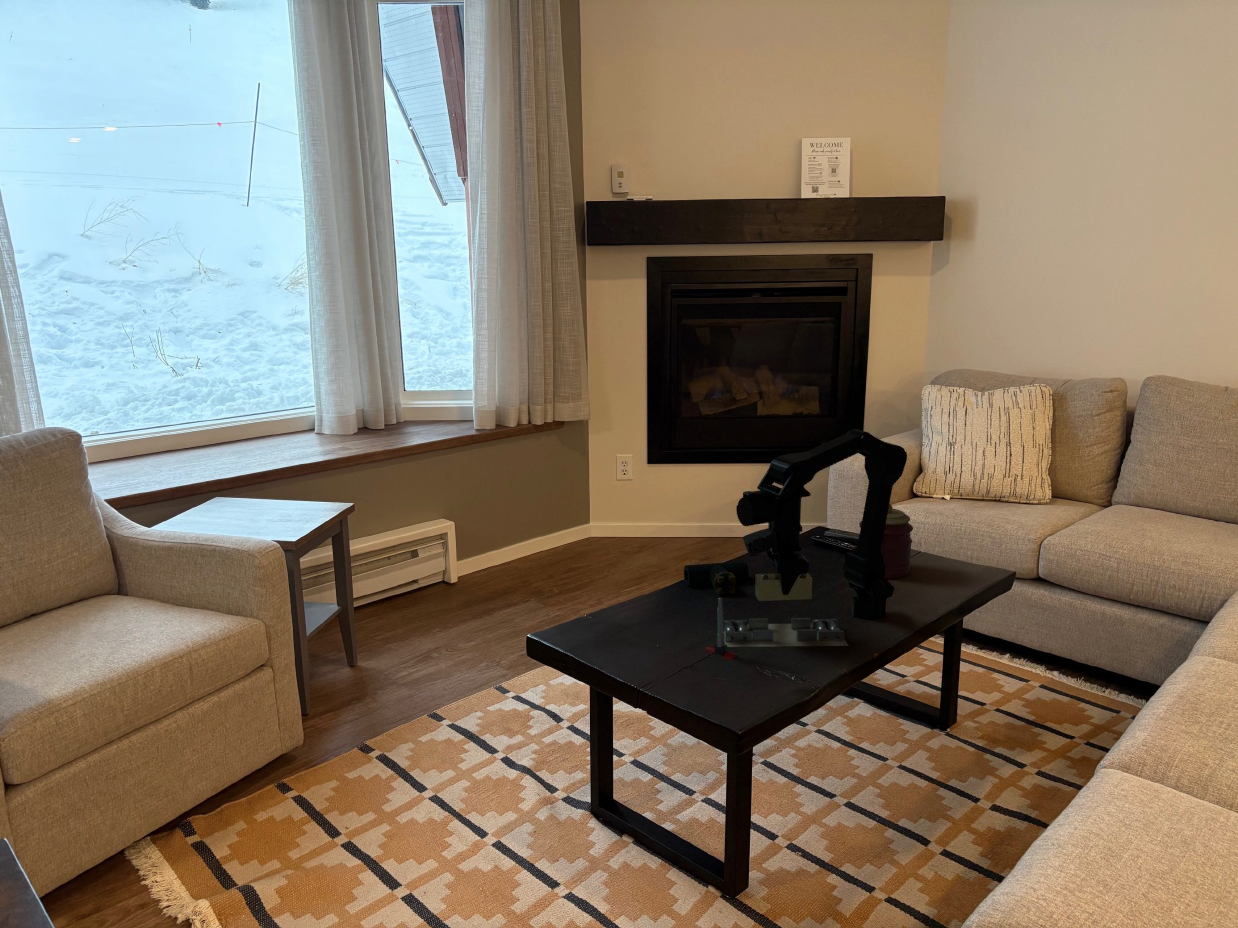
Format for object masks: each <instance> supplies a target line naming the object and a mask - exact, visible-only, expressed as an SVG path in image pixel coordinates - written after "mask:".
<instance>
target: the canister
mask: <svg viewBox="0 0 1238 928" xmlns="http://www.w3.org/2000/svg"><path fill="white" fill-rule="evenodd" d="M910 521H911V517H910V516H909V515H908V514H906V513H905V512H904V511H903V510H900V509H898V508H893V505H892V504H891V503H890V504H889V509H888V514H887V520H886V525H885V531H884V536H883V542H882V547H881V553H882V556H883V559H884V562H885V578H886V579H899V578H900V579H901V578H904V577H906V576H908V574H909V573H910V570H911V555H912V554H911V553H912V543H913V539H912V537H911V532H913V530H914V527H913V525H912V524H911V523H910ZM861 524H862V520H861V521H859V523H858V525H859V526H858V527H859V528H860V529H861ZM858 534H859V535H860V533H858ZM859 535H858V539H859Z"/></svg>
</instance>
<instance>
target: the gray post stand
mask: <svg viewBox="0 0 1238 928" xmlns="http://www.w3.org/2000/svg"><path fill="white" fill-rule="evenodd" d="M717 600H718V601H717V603H718V604H717V610H716V614H717V616H716V617H717V619H716V620H717V622H716V623H717V633H716V644H715V645H713V646H714V647H712V646H711V647H710V646H706V647H705V650H706V651H707V652H710V653H713V654H714V653H715V654H719V655H722V657H723V658H725V659H728V660H730V661H731V660H732V659H735V658H736V657H737V656H738V655H737V654H736V653H732V652H728V647H727V645H725V643H724V624H723V620H724V607H723V597H718V598H717Z"/></svg>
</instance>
